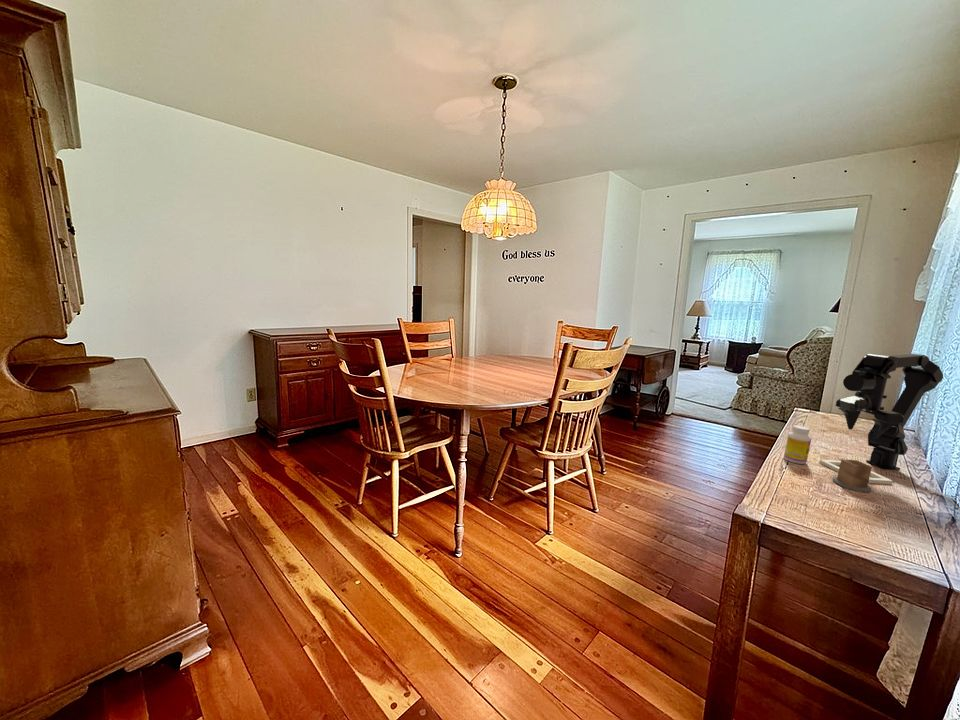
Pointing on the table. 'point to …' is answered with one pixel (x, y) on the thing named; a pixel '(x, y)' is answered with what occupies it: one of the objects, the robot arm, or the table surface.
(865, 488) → the coaster
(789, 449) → the supplement bottle
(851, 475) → the block
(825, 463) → the pocket frame
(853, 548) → the table surface
